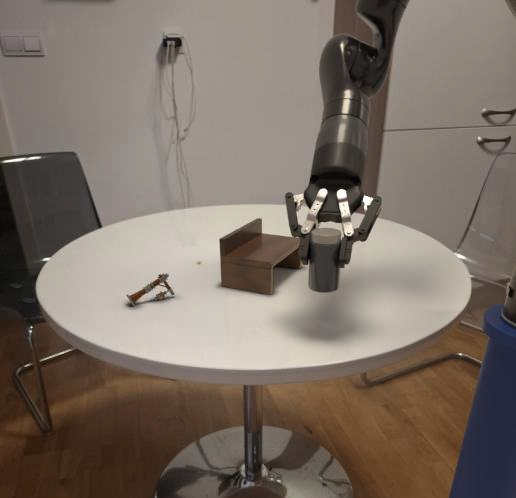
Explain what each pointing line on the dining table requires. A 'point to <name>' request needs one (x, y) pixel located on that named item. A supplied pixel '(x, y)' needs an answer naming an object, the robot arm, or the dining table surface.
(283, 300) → the dining table surface
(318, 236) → the salt shaker
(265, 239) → the shelf
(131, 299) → the brown slender grey-tipped part
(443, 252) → the dining table surface
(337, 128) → the robot arm
